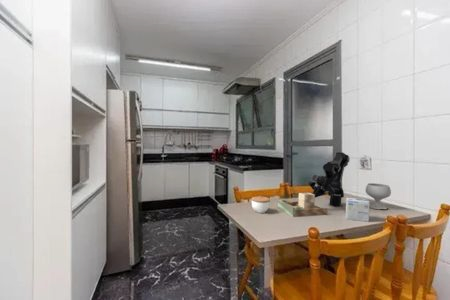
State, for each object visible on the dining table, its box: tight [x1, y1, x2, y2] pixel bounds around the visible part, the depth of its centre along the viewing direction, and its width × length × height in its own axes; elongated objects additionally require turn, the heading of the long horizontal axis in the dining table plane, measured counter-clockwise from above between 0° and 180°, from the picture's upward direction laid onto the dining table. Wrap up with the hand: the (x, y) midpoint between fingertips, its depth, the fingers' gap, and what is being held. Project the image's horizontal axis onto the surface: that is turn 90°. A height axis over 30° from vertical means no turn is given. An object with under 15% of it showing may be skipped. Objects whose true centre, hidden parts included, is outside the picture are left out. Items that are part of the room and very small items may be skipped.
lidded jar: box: [251, 195, 271, 214], centre depth 140 cm, size 11×11×9 cm
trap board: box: [277, 199, 328, 217], centre depth 142 cm, size 22×17×5 cm
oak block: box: [297, 192, 316, 209], centre depth 143 cm, size 7×6×8 cm
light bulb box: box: [345, 197, 370, 223], centre depth 130 cm, size 11×7×11 cm, turn 71°
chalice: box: [365, 182, 392, 210], centre depth 155 cm, size 14×14×15 cm
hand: (312, 198), depth 144 cm, fingers closed
